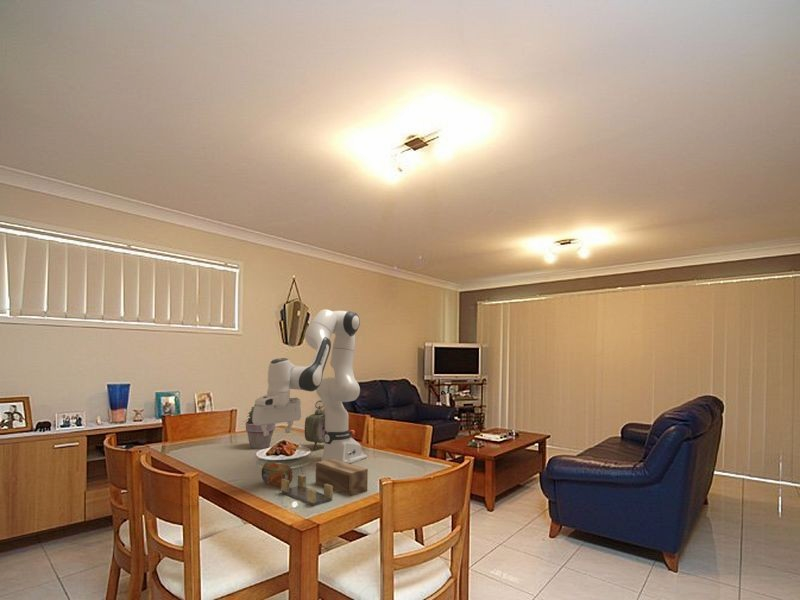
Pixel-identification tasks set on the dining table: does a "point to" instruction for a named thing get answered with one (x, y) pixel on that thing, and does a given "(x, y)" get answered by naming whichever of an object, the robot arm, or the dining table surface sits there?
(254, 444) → the potted plant
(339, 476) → the brown wooden block
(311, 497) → the grey pegged base
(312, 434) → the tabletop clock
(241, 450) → the dining table surface
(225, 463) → the dining table surface
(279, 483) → the brown curved piece
